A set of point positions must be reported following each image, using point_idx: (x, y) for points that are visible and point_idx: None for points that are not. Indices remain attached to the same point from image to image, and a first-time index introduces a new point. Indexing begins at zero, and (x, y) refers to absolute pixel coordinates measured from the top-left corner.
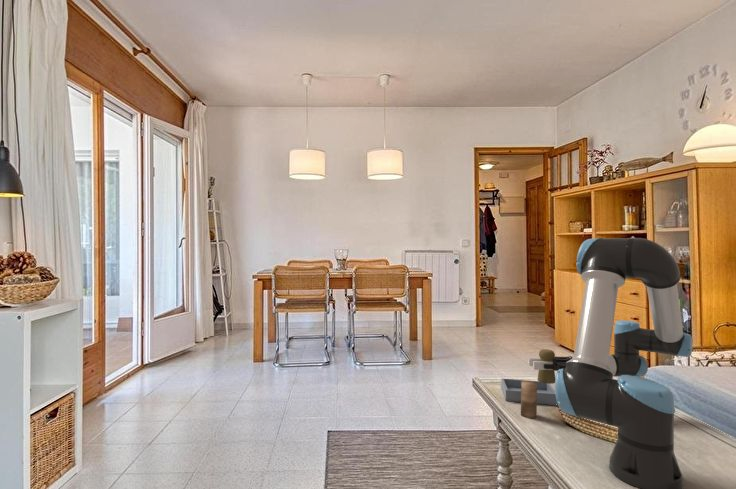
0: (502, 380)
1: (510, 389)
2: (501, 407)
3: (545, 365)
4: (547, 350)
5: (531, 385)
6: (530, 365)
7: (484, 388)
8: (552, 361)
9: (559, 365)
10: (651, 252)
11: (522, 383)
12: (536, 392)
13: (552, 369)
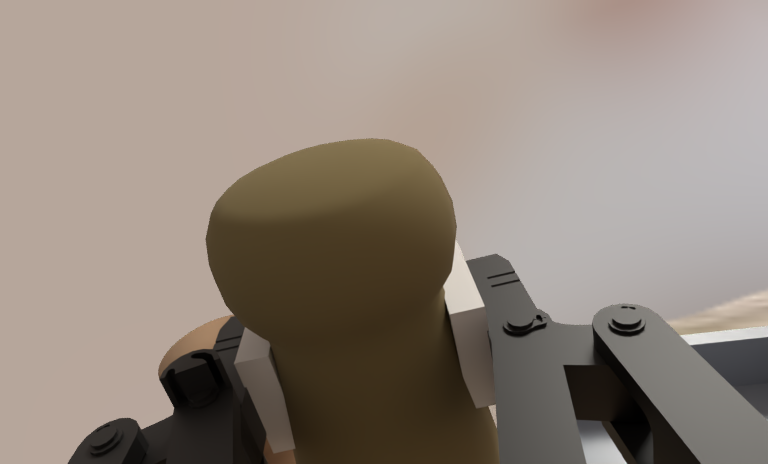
0: (761, 328)
1: (766, 419)
2: None
3: (228, 328)
4: (267, 167)
5: (163, 361)
6: None
7: (716, 312)
8: (285, 362)
9: (87, 441)
10: None
11: (216, 321)
12: None
13: (269, 443)
